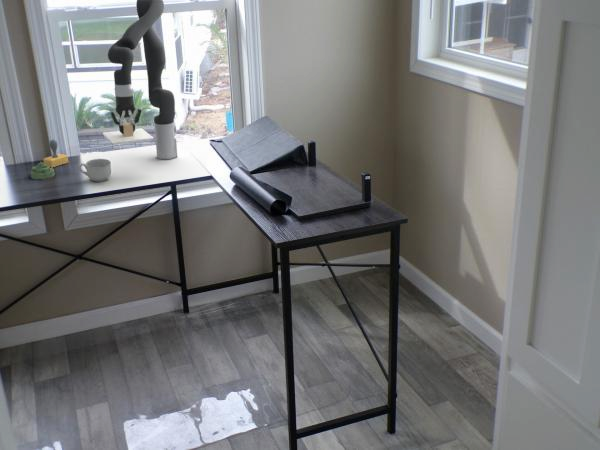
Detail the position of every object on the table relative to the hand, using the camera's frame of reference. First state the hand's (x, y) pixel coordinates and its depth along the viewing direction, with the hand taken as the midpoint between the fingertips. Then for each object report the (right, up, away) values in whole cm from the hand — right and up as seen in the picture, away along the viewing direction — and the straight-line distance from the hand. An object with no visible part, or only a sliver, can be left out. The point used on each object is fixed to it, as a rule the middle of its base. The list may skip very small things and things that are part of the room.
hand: (127, 132), depth 297 cm
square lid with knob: (0, -2, +1) cm, 2 cm away
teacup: (-14, -21, +1) cm, 25 cm away
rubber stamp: (-39, -13, +20) cm, 45 cm away
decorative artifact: (-39, -19, +5) cm, 44 cm away
